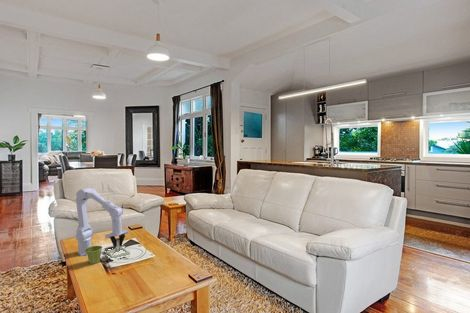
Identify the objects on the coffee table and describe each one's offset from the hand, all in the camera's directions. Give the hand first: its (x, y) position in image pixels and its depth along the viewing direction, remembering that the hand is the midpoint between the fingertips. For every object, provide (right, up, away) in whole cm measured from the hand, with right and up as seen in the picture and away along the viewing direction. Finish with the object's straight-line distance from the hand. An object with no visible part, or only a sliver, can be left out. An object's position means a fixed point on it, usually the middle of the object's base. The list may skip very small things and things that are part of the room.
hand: (117, 246), depth 184 cm
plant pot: (-11, -7, -8) cm, 16 cm away
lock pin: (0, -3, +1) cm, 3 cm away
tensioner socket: (-8, -6, +7) cm, 12 cm away
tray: (0, -6, 0) cm, 6 cm away
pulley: (-3, -6, +12) cm, 14 cm away
